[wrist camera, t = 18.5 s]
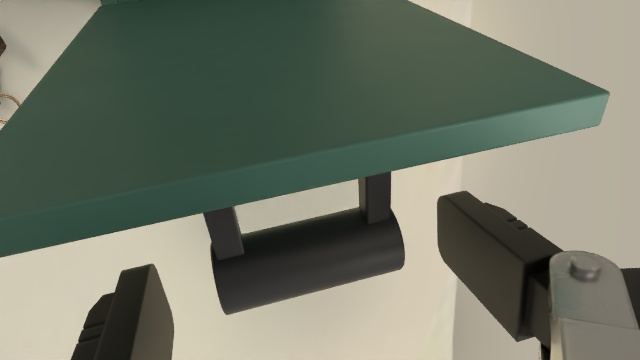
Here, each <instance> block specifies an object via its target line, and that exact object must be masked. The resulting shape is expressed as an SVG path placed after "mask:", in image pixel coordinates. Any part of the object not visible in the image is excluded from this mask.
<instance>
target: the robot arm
mask: <svg viewBox="0 0 640 360" xmlns="http://www.w3.org/2000/svg"><path fill="white" fill-rule="evenodd" d="M437 233H438V248H439V252H440V254H441V257H442V259H443V260H444V262H445V263H446V264H447V265H448V267H449V268H450V269H451V270H452V271H453V272H454V273H455V274H456V275H457V276H458V278H459V279H460V280H461V281H462V282H463V283H464V284H465V285H466V286H467V287H468V289H469V290H470V291H471V292H472V293H473V294H474V295H475V296H476V297H477V299H478V300H479V301H480V302H481V303H482V304H483V305H484V306H485V307H486V308H487V310H488V311H489V312H490V313H491V314H492V315H493V316H494V317H495V318H496V319H497V321H498V322H499V323H500V324H501V325H502V326H503V327H504V328H505V329H506V331H507V332H508V333H509V334H510V335H511V336H512V337H513V338H514V339H515V340H516V342H519V341H522V340H525V339H529V338H532V337H536V338H537V339H538V340H539V341H540V345H539V360H640V268H626V269H619V267H617V265H616V264H614V263H613V262H612V261H610V260H608V259H606V258H604V257H602V256H600V255H597V254H594V253H589V252H585V251H563V250H561V249H560V248H559V247H557V246H556V245H554V244H553V243H552V242H550V241H549V240H547V239H546V238H544V237H543V236H542V235H540V234H539V233H537V232H536V231H535V230H533V229H531V228H528V227H527V225H526V224H524V223H523V222H522V221H520V220H517V218H516V217H514V216H513V215H512V214H510V213H509V212H507V211H506V210H505V209H503V208H500V207H497V206H494V205H491V204H489V203H482V202H481V201H479V200H478V199H477V198H475V197H474V196H473V195H471V194H470V193H469V192H467V191H461V192H456V193H452V194H448V195H444V196H440V197H439V199H438V202H437ZM83 328H84V330H82V332H81V334H80V337H79V339H78V342H79V343H78V344H77V345H76V347H75V350H74V353H73V355H72V358H71V360H171V359H172V349H173V339H174V323H173V317H172V313H171V309H170V306H169V303H168V300H167V298H166V295H165V292H164V289H163V286H162V283H161V280H160V277H159V275H158V272H157V269H156V267H155V266H154V264H148V265H144V266H140V267H135V268H131V269H127V270H123V271H122V272H121V274H120V277H119V280H118V283H117V286H116V290H115V292H114V293H110V294H106V295H103V296H102V297H101V298H100V299H99V301H98V302H97V303H96V304H95V305H94V306H93V307H92V308H91V310H90V311H89V313H88V316H87V318H86V321H85V324H84V326H83Z"/></svg>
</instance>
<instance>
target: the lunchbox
mask: <svg viewBox="0 0 640 360" xmlns="http://www.w3.org/2000/svg"><path fill="white" fill-rule="evenodd" d="M100 1H101V4H102V6H105V5H112V4H120V3H127V2H135V1H142V0H100Z"/></svg>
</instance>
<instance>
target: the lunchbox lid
mask: <svg viewBox="0 0 640 360" xmlns="http://www.w3.org/2000/svg"><path fill="white" fill-rule="evenodd" d="M609 95H610V93H609V91H607V90H605V89H602V88H600V87H598V86H596V85H594V84H591V83H589V82H587V81H585V80H582V79H580V78H578V77H576V76H573V75H571V74H569V73H567V72H565V71H563V70H560V69H558V68H556V67H554V66H552V65H549V64H547V63H545V62H543V61H540V60H538V59H536V58H534V57H532V56H529V55H527V54H525V53H523V52H520V51H518V50H516V49H514V48H512V47H510V46H507V45H505V44H503V43H501V42H498V41H496V40H494V39H492V38H490V37H487V36H485V35H483V34H481V33H479V32H476V31H474V30H472V29H470V28H468V27H465V26H463V25H461V24H459V23H456V22H454V21H452V20H450V19H448V18H445V17H443V16H441V15H439V14H437V13H434V12H432V11H430V10H428V9H425V8H423V7H421V6H419V5H417V4H414V3H412V2H410V1H408V0H142V1H135V2H127V3H120V4H112V5H105V6H100V7H99V8H98V10H97V11H96V12H95V13H94V15H93V16H92V17H91V18H90V20H89V21H88V22H87V23H86V25H85V26H84V27H83V28H82V29H81V31H80V32H79V33H78V34H77V36H76V37H75V38H74V39H73V41H72V42H71V43H70V44H69V46H68V47H67V48H66V49H65V51H64V52H63V53H62V54H61V56H60V57H59V58H58V59H57V61H56V62H55V63H54V64H53V66H52V67H51V68H50V69H49V71H48V72H47V73H46V74H45V76H44V77H43V78H42V79H41V81H40V82H39V83H38V84H37V86H36V87H35V88H34V89H33V91H32V92H31V93H30V94H29V95H28V97H27V98H26V99H25V100H24V102H23V103H22V104H21V105H20V107H19V108H18V109H17V110H16V112H15V113H14V114H13V115H12V117H11V118H10V119H9V120H8V122H7V123H6V124H5V125H4V127H3V128H2V129H1V130H0V257H5V256H9V255H14V254H18V253H23V252H28V251H32V250H37V249H41V248H46V247H50V246H55V245H59V244H64V243H68V242H73V241H77V240H82V239H86V238H91V237H96V236H100V235H105V234H109V233H114V232H118V231H123V230H127V229H132V228H136V227H141V226H145V225H150V224H154V223H159V222H164V221H168V220H173V219H177V218H182V217H186V216H191V215H195V214H200V213H203V215H204V218H205V221H206V225H207V228H208V231H209V234H210V238H211V241H212V242H211V247H210V251H211V261H212V268H213V274H214V279H215V284H216V289H217V293H218V297H219V300H220V304H221V307H222V309H223V311H224V313H225V314H226V315H229V314H233V313H237V312H240V311H244V310H248V309H252V308H256V307H259V306H263V305H267V304H271V303H275V302H278V301H282V300H286V299H290V298H294V297H297V296H301V295H305V294H309V293H313V292H316V291H320V290H324V289H328V288H332V287H335V286H339V285H343V284H347V283H351V282H354V281H358V280H362V279H366V278H370V277H374V276H377V275H381V274H385V273H389V272H393V271H396V270H400V269H401V268H402V267H403V265H404V260H405V251H404V243H403V238H402V234H401V230H400V227H399V224H398V222H397V219H396V217H395V215H394V213H393V211H392V210H391V208H390V206H391V171H395V170H399V169H404V168H408V167H413V166H417V165H422V164H426V163H431V162H436V161H440V160H445V159H449V158H454V157H458V156H463V155H467V154H472V153H476V152H481V151H485V150H490V149H494V148H499V147H504V146H508V145H513V144H517V143H521V142H526V141H531V140H535V139H540V138H544V137H549V136H553V135H557V134H562V133H567V132H572V131H576V130H581V129H585V128H590V127H594V126H598V125H599V124H600V123H601V119H602V117H603V114H604V110H605V107H606V104H607V101H608V98H609ZM354 179H358V183H359V207H358V208H354V209H349V210H345V211H341V212H336V213H332V214H328V215H324V216H319V217H315V218H311V219H306V220H302V221H298V222H293V223H289V224H285V225H281V226H276V227H272V228H268V229H263V230H259V231H255V232H250V233H246V234H242V235H241V231H240V227H239V223H238V219H237V215H236V211H235V207H234V206H236V205H241V204H245V203H250V202H254V201H259V200H263V199H268V198H272V197H277V196H281V195H286V194H290V193H295V192H300V191H304V190H309V189H313V188H318V187H322V186H327V185H331V184H336V183H340V182H345V181H349V180H354Z"/></svg>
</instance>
